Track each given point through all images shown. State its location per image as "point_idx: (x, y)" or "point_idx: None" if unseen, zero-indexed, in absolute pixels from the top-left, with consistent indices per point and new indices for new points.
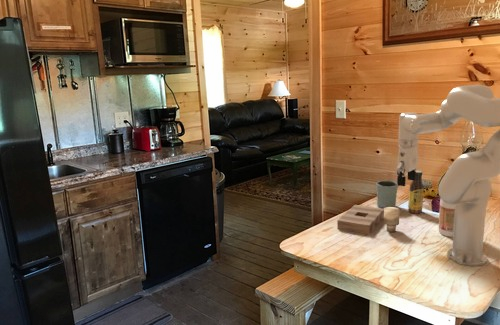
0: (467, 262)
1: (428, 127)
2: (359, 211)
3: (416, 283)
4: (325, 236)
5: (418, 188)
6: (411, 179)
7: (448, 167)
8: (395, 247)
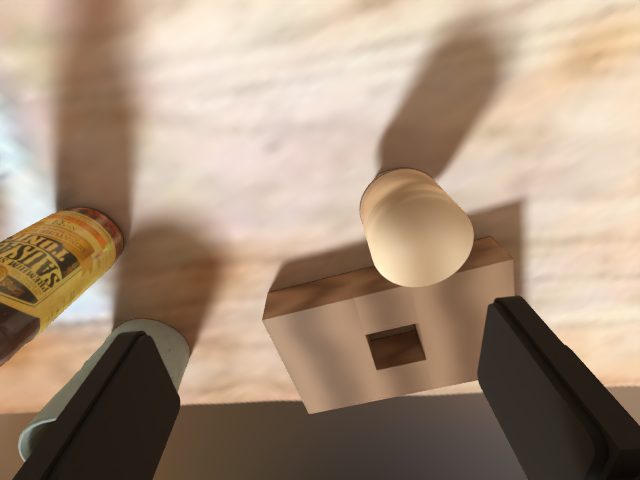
0: None
1: None
2: (368, 368)
3: None
4: (591, 331)
5: None
6: (160, 370)
7: None
8: (587, 58)
